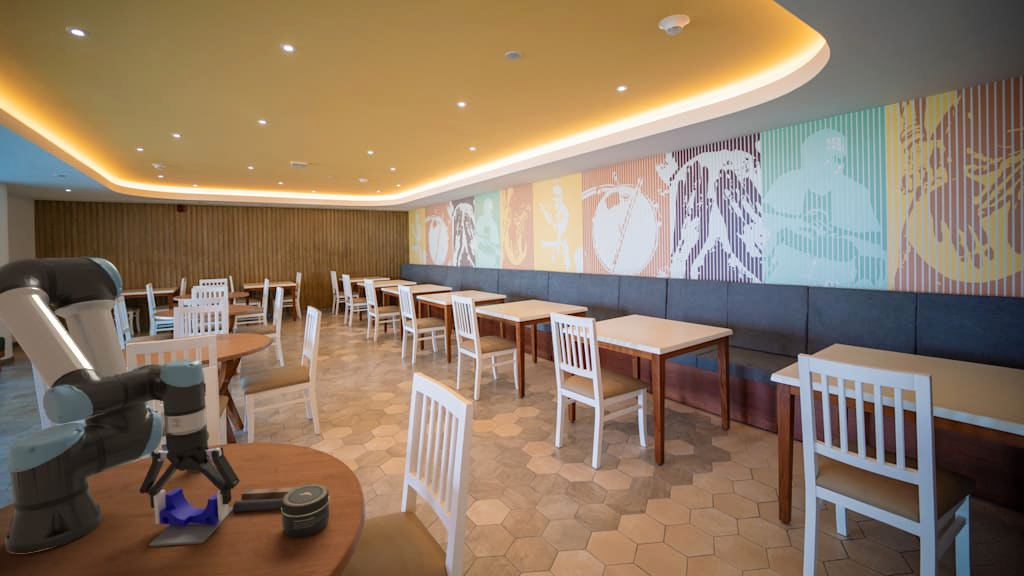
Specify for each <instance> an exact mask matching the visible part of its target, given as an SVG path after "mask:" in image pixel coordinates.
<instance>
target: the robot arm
mask: <svg viewBox="0 0 1024 576" xmlns="http://www.w3.org/2000/svg"><path fill="white" fill-rule="evenodd" d="M122 286H123V280H122V277H121V275H120V273H119V271H118V269H117V267H116V266H115V265H114V264H113V263H112V262H110V261H108V260H107V259H105V258H100V257H89V256H80V257H40V258H39V257H38V258H36V257H25V258H19V259H16V260H12V261H10V262H7V263H5V264H2V265H1V266H0V321H2V322H3V323H4V325H5V326H6V327H7V329H8V330H9V332H10V333H11V335H12V336H13V337H14V339H15V340H16V342H17V343H18V345H19V346H20V347H21V349H22V351H24V353H25V355H26V356H27V357H28V359H29V360H30V362H31V364H32V365H33V366H34V368H35V369H36V370H37V372H38V374H39V375H40V376H41V378H42V379H43V381H44V382H45V383H46V385H47V386H48V387H49V389H48V390H46V391H45V392H44V395H43V399H42V407H43V410H44V411H45V415H46V417H47V419H48V421H50V422H51V423H54V424H57V425H53V426H49V427H47V428H44V429H41V430H37V431H35V432H33V433H31V434H28V435H26V436H25V437H22V438H20V439H19V440H18V441H17V442H15V443H14V444H13V445H12V447H10V450H9V454H8V455H9V459H8V461H9V462H8V463H9V464H8V471H9V472H10V478H11V480H10V481H11V489H12V498H13V505H14V506H13V507H14V508H13V510H14V511H13V512H14V513H13V515H12V518H11V521H10V524H9V527H8V531H7V534H6V536H5V539H4V542H5V543H4V544H5V550H6V549H7V550H8V551H10V552H14V553H28V552H34V551H38V550H42V549H46V548H51V547H55V546H59V547H61V546H60V545H62V546H64V545H66V544H65V543H67V544H69V543H71V542H70V541H72V540H74V539H76V538H78V537H80V538H81V536H82V537H83V535H84V536H85V535H87V534H89V533H90V532H92V531H93V530H94V529H95V528H97V527H98V526H99V524H101V522H102V520H103V517H102V516H103V515H102V508H101V506H99V505H98V504H97V503H96V500H95V498H94V496H93V494H92V492H91V490H90V487H89V478H90V477H91V476H94V475H96V474H99V473H102V472H105V471H108V470H110V469H113V468H117V467H119V466H121V465H124V464H128V463H129V462H131V461H132V462H133V461H136V460H138V459H140V458H142V457H144V456H147V455H150V454H151V453H153V452H154V451H156V450H157V448H159V446H160V444H161V441H162V439H163V436H164V435H163V434H164V429H165V432H166V434H165V444H166V445H165V447H166V449H165V448H160V449H159V450H157V451H156V452H154V453H153V454H152V457H151V459H152V460H151V465H150V467H149V469H148V471H147V472H146V475H145V478H144V480H143V482H142V485H141V486H140V488H139V493H140V494H142V495H143V494H147V495H149V498H150V507H151V509H153V510H154V520H155V525H159V524H160V511H161V510H162V509H164V508H165V507H166V502H165V495H166V494H167V493H166V489H163V488H164V486H165V485H166V484H167V483H168V481H169V480H170V479H171V478H172V477H173V475H174V474H175V473H176V471H177V470H179V472H184V471H188V470H195V469H196V470H197V471H198V472H197V473H202V475H204V476H205V477H206V478H207V479H208V480H209V481H210V483H212V484H213V485H214V486H215V487H216V489H218V491H217V492H218V493H217V492H216V493H217V502H218V517H219V520H223V519H224V518H225V517H226V516H227V515H228V514H229V510H228V507H229V503H230V502H231V501H232V490H233V489H235V487H237V485H238V484H239V483H240V482H241V480H240V479H239V476H238V475H237V473H236V472H235V470H234V469H233V467H232V465H231V464H230V462H229V461H228V459H227V457H226V456H225V454H224V448H223V445H222V446H221V445H219V446H217V447H216V448H210V447H209V448H208V447H207V442H209V441H208V440H209V439H208V436H207V431H208V427H207V426H206V425H207V423H208V421H207V409H206V408H207V407H206V394H205V393H206V392H205V374H204V370H203V363H202V362H201V361H200V360H199V359H194V358H191V359H189V358H187V359H177V360H171V361H168V362H165V363H163V364H162V365H161V364H156V363H151V364H142V365H139V366H136V367H135V368H133V369H132V370H130V371H129V369H128V367H127V363H126V359H125V356H124V353H123V349H122V346H121V341H120V339H119V335H118V331H117V328H116V325H115V321H114V319H113V314H112V309H113V308H115V306H116V305H117V301H116V300H117V299H119V298H120V297H121V295H122V293H123V288H122ZM50 306H52V307H53V308H52V309H53V310H52V309H51V307H50ZM57 316H58V317H61V318H63V319H65V323H66V325H67V329H68V330H67V329H66V328H65V326H64V325H63V323H62V322H61V321H60V319H59V318H58V317H57ZM150 401H160V402H162V403H163V414H164V425H163V418H162V415H160V413H158V410H157V409H156V408H154V407H147V405H146V403H147V402H150ZM82 420H84V423H85V425H84V426H83V424H81V423H79V422H77V421H82ZM208 455H209V456H210V459H212V461H211V460H210V459H209V458H208V457H207V456H208ZM165 460H168V461H169V462H170V464H169V465H168V467H167V468H166V469H165V471H164V473H162V475H161V476H160V477H159V479H158V480H157V478H158V476H159V473H160V471H161V469H162V467H163V466H164V462H165ZM202 463H204V464H205V465H204V466H202ZM212 463H213V464H212ZM156 480H157V481H156ZM78 539H79V538H78ZM76 540H77V539H76ZM74 541H75V540H74ZM68 542H69V543H68ZM72 542H73V541H72ZM63 544H64V545H63Z"/></svg>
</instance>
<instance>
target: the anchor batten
mask: <svg viewBox="0 0 1024 576" xmlns="http://www.w3.org/2000/svg"><path fill="white" fill-rule="evenodd" d="M297 487H298V486H294V487H293V486H291V487H274V488H273V487H271V488H253V489H245V490H243V492H241V496H240V498H241V501H245V500H264V499H282V498H283V497H284V495H285V494H287V493H288V492H289V491H291V490H293V489H295V488H297Z"/></svg>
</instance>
